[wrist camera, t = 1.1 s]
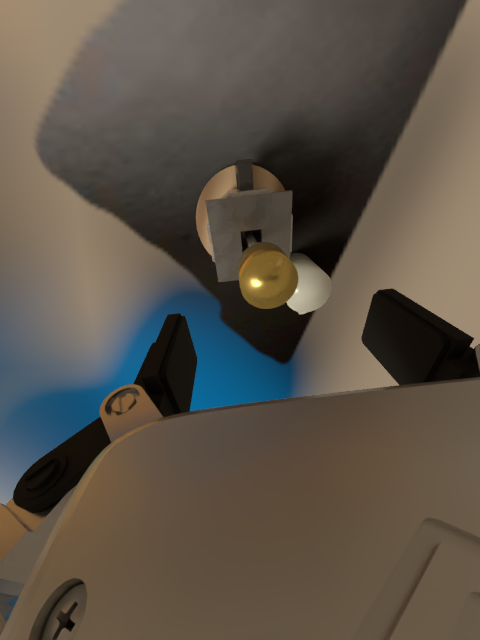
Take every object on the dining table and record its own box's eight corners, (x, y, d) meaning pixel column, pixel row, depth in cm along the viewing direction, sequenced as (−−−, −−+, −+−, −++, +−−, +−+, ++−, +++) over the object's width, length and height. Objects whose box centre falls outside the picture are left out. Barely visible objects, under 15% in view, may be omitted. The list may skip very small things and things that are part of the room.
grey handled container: (274, 161, 31) (300, 151, 20) (274, 250, 38) (293, 277, 27) (204, 170, 31) (192, 163, 20) (218, 257, 38) (214, 286, 27)
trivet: (292, 158, 31) (293, 158, 31) (288, 262, 40) (289, 263, 40) (186, 170, 31) (185, 170, 31) (206, 272, 40) (205, 273, 40)
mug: (314, 250, 39) (335, 266, 32) (310, 294, 44) (327, 317, 37) (274, 255, 39) (285, 272, 32) (274, 298, 44) (284, 322, 37)
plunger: (275, 197, 27) (333, 215, 12) (275, 256, 31) (318, 322, 16) (216, 204, 27) (203, 230, 12) (224, 262, 31) (222, 333, 16)
